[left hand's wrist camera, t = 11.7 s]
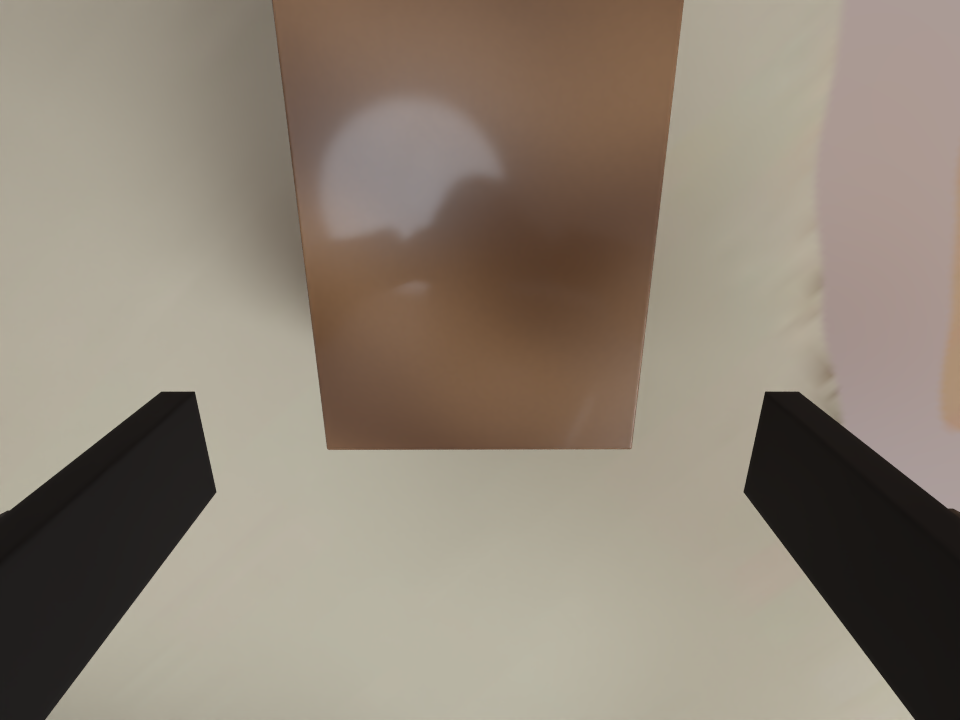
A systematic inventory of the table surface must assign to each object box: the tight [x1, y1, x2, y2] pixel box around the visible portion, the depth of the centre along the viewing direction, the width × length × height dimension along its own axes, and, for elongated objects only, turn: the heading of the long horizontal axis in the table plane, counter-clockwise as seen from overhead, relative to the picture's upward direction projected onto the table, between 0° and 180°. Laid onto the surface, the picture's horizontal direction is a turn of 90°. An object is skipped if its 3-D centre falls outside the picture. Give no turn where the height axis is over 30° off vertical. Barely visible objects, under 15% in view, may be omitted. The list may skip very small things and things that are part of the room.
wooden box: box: [272, 0, 684, 450], centre depth 19 cm, size 18×10×8 cm, turn 0°
